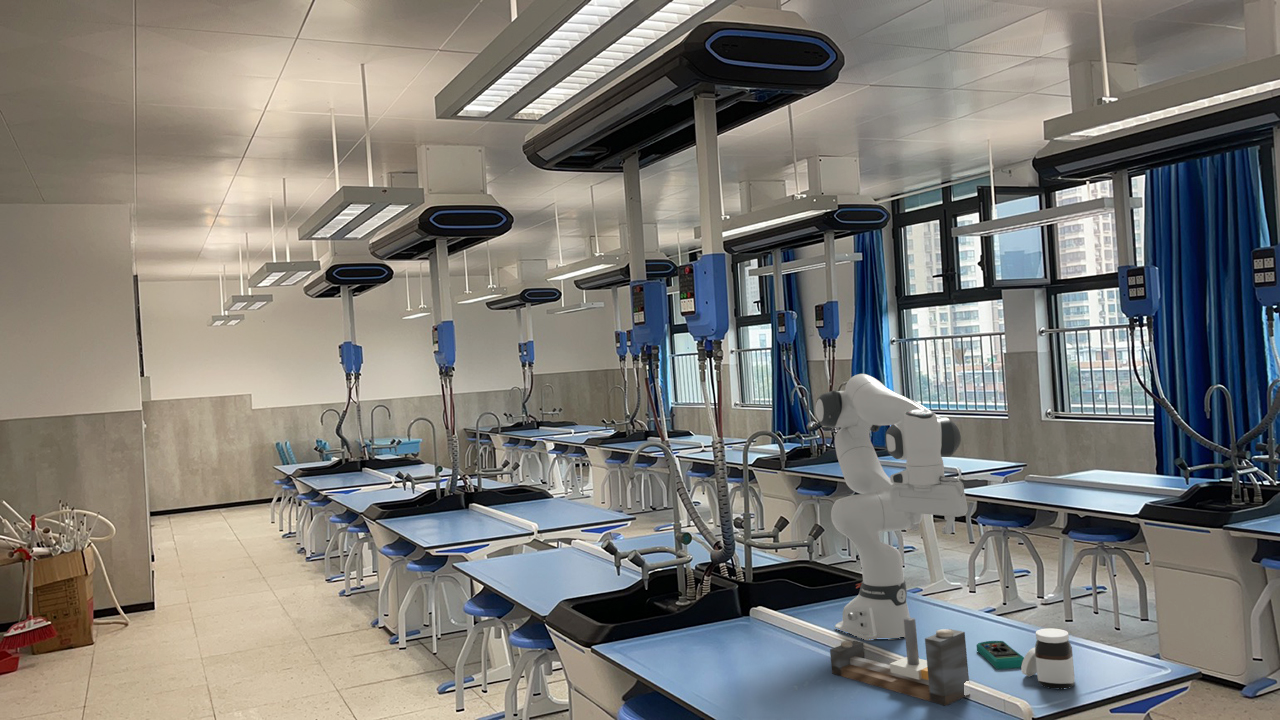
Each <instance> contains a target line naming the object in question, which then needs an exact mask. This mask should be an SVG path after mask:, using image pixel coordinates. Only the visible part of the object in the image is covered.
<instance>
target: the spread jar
mask: <svg viewBox="0 0 1280 720" xmlns="http://www.w3.org/2000/svg"><path fill="white" fill-rule="evenodd" d="M1035 639H1036V641H1035V645H1034V647H1032V648H1031V649H1029V650H1028V652H1026V654H1025V655H1024V656H1023V657H1024V659H1023V662H1022V666H1021V673H1022V674H1023V675H1025V676H1027V677H1028V678H1031V677H1030V676H1032V675H1034V674H1035V675H1036V676H1037V681H1038V684H1039V685H1041V686H1042V687H1044V686H1045V687H1044V688H1046V687H1049V688H1048V689H1051V688H1059V689H1058V690H1065V689H1064V688H1067V689H1070V688H1069V687H1071V688H1072V687H1074V686H1075V677H1076V676H1075V670H1074V669H1075V667H1074V657H1073V647H1072V645H1071V642H1070V641H1069V639H1070V637H1069V632H1068V631H1067V630H1064V629H1060V628H1053V627H1052V628H1041V629H1038V630H1036V631H1035ZM1035 675H1034V676H1035ZM1032 677H1033V676H1032ZM1061 688H1062V689H1061Z"/></svg>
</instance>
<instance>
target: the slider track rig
mask: <svg viewBox="0 0 1280 720" xmlns="http://www.w3.org/2000/svg"><path fill="white" fill-rule="evenodd" d="M924 642H925V643H924V645H925V655H926V660H927V668H928V679H929V680H925V679H920V680H918V679H914V678H910V677H907V676H903V675H899V674H895V673H891V672H890V664H888V663H884V662H880V661H876V660H873V659H869V658H868V659H867V658H866V656H865V655H866V654H865V645H864V642H862V641H859V640H852V641H850V640H845V641H843V640H842V641H841V642H840V645H839V646H838V645H837V646H835V647H833V648H829V653H830V654H829V655H830V667H831V674H833V675H836V676H840V677H843V678H847V679H850V680H853V681H856V682H857V681H858V682H861V683H865V684H868V685H870V686H875V687H879V688H882V689H886V690H889V691H891V692H897V693H899V694H903V695H907V696H910V697H914V698H917V699H920V700H924V701H927V702H932V703H935V704H938V705H942V706H945V707H947V706H948V705H950V704H953V703H955V702H957V701H959V700H961V699H963V698H965V695H964V683H965V682H966V681H969V682H970V676H969V667H968V666H969V665H968V654H967V644H966V642H967V641H966V632H965V631H960V630H957V629H952V628H949V629H948V628H947V629H945V628H944V629H943V628H942V629H938V630H936V631H935V634H933V635H930V636H928V637H925V638H924Z"/></svg>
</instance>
